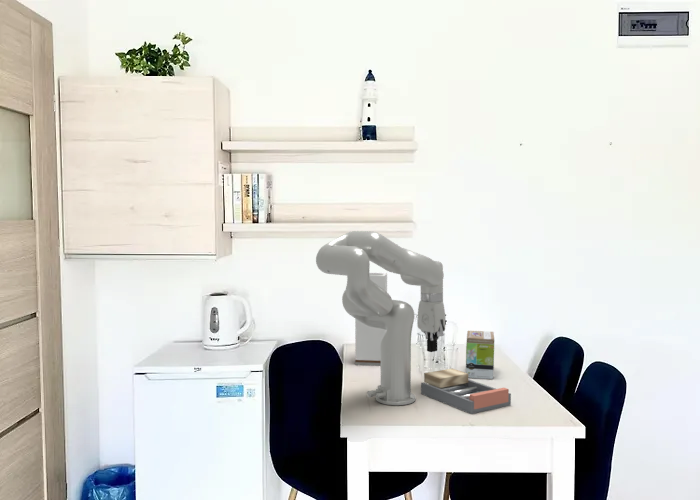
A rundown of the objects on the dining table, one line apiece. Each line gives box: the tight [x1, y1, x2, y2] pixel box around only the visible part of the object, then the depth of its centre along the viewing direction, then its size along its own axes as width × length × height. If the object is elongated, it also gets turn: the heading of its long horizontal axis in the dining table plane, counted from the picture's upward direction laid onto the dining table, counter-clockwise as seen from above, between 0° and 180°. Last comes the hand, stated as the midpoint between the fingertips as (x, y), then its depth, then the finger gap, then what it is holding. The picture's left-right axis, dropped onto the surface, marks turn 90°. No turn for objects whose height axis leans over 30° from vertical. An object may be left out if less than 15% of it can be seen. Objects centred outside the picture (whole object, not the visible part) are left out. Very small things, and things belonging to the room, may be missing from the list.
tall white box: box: [354, 272, 388, 367], centre depth 245 cm, size 11×11×35 cm
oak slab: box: [423, 368, 469, 388], centre depth 204 cm, size 12×8×3 cm, turn 121°
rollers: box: [429, 383, 488, 400], centre depth 198 cm, size 12×22×2 cm, turn 31°
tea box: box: [465, 330, 495, 380], centre depth 228 cm, size 15×10×15 cm
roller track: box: [420, 378, 512, 415], centre depth 197 cm, size 16×24×4 cm, turn 31°
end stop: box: [470, 387, 510, 409], centre depth 188 cm, size 14×2×4 cm, turn 121°
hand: (432, 351), depth 211 cm, fingers closed
